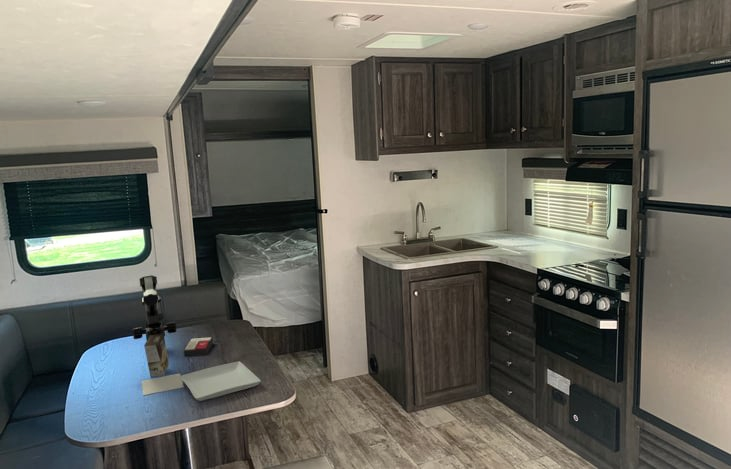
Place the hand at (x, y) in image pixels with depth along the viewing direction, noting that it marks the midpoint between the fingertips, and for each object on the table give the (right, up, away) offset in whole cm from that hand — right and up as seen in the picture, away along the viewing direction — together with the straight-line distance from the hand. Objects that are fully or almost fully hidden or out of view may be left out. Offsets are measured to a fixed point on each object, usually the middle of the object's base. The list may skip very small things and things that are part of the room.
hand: (157, 346), depth 248 cm
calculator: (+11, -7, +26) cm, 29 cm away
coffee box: (+2, -11, -1) cm, 11 cm away
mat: (+8, -13, -14) cm, 21 cm away
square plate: (+33, -13, -18) cm, 40 cm away
